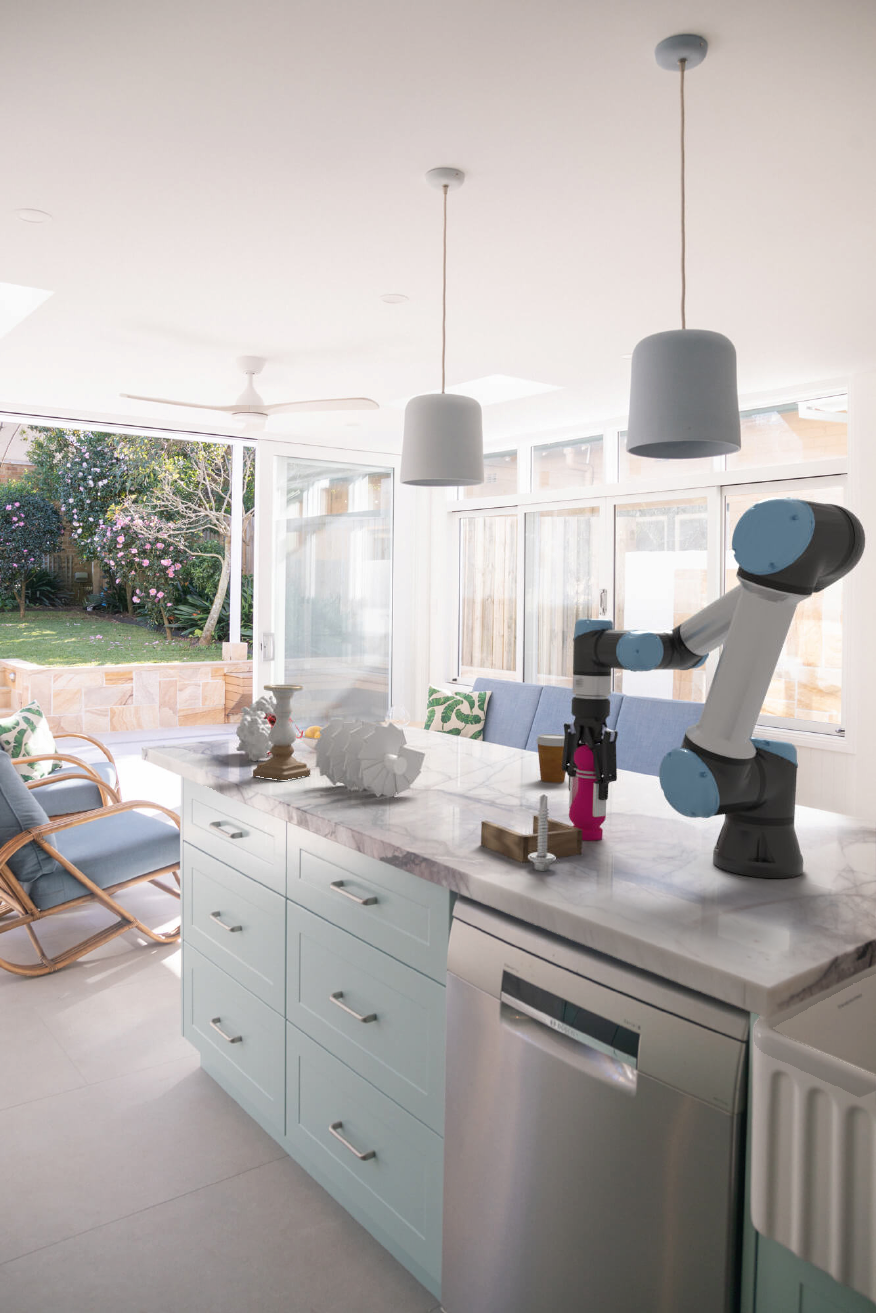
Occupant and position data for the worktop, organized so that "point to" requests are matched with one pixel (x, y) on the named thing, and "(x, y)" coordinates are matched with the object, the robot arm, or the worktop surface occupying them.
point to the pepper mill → (585, 797)
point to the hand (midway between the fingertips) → (587, 811)
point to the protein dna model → (257, 728)
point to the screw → (542, 840)
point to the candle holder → (282, 739)
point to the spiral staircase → (367, 756)
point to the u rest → (532, 840)
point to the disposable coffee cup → (551, 757)
